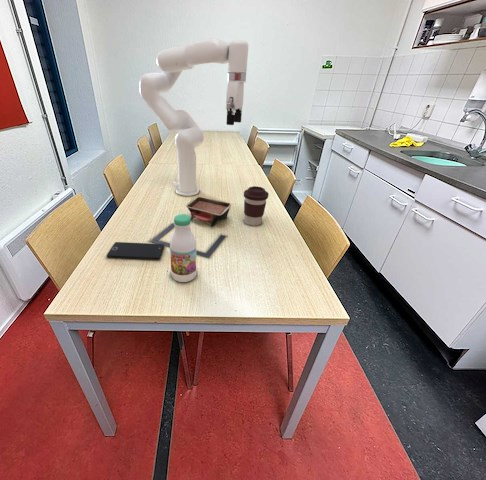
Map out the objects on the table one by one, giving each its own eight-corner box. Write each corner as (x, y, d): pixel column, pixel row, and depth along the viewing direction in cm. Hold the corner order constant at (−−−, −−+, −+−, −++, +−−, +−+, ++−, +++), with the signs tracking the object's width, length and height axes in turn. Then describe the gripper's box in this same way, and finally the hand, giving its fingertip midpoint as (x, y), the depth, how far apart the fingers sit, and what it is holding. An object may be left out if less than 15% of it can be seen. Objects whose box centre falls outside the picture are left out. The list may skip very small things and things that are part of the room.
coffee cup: (265, 219, 119) (270, 186, 111) (262, 229, 111) (267, 195, 103) (243, 215, 122) (247, 183, 114) (238, 225, 114) (241, 191, 106)
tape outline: (150, 241, 101) (150, 241, 101) (172, 223, 114) (172, 223, 114) (208, 257, 93) (208, 257, 93) (225, 236, 106) (225, 236, 105)
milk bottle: (171, 267, 87) (168, 211, 77) (195, 267, 88) (195, 211, 78) (171, 283, 81) (167, 223, 70) (196, 282, 81) (197, 223, 71)
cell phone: (115, 244, 99) (115, 241, 98) (164, 246, 98) (164, 243, 98) (106, 257, 91) (106, 255, 90) (159, 260, 90) (159, 257, 90)
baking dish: (215, 235, 110) (220, 213, 105) (180, 218, 116) (183, 197, 111) (231, 224, 121) (236, 204, 116) (198, 209, 128) (202, 189, 122)
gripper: (234, 78, 118) (232, 120, 127) (220, 77, 104) (218, 125, 113) (251, 78, 116) (247, 121, 124) (238, 78, 102) (235, 126, 111)
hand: (233, 123), depth 119 cm, fingers open, 9 cm apart
